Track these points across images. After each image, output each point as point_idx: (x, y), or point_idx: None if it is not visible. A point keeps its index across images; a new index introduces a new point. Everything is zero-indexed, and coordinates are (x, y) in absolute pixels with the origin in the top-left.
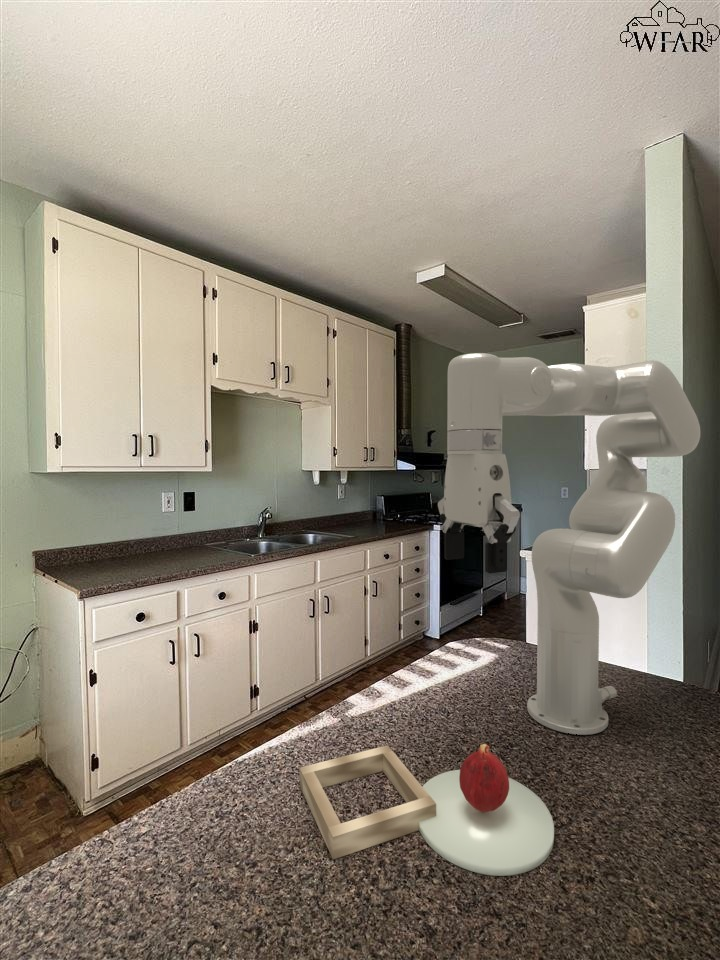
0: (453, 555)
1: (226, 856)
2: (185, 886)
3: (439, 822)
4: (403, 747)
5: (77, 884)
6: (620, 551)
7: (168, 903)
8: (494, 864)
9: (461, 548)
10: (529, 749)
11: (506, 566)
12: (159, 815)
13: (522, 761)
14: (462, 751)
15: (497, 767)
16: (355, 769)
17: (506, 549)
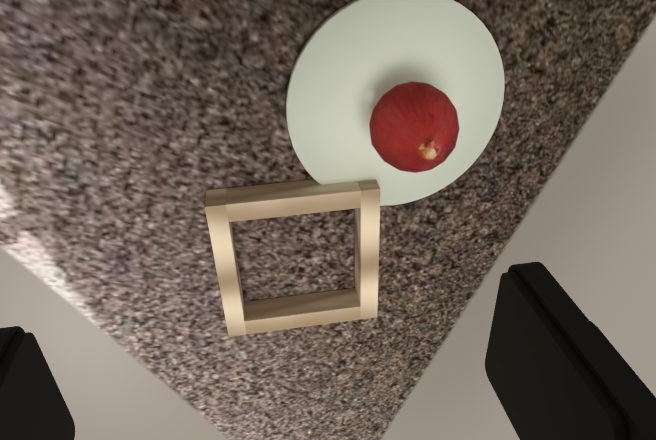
0: (56, 419)
1: (321, 382)
2: (343, 407)
3: (388, 180)
4: (164, 146)
5: None
6: None
7: (355, 414)
8: (481, 147)
9: (7, 411)
10: None
11: (548, 279)
12: (234, 437)
13: None
14: (210, 34)
15: (453, 132)
16: (235, 256)
17: (623, 374)
